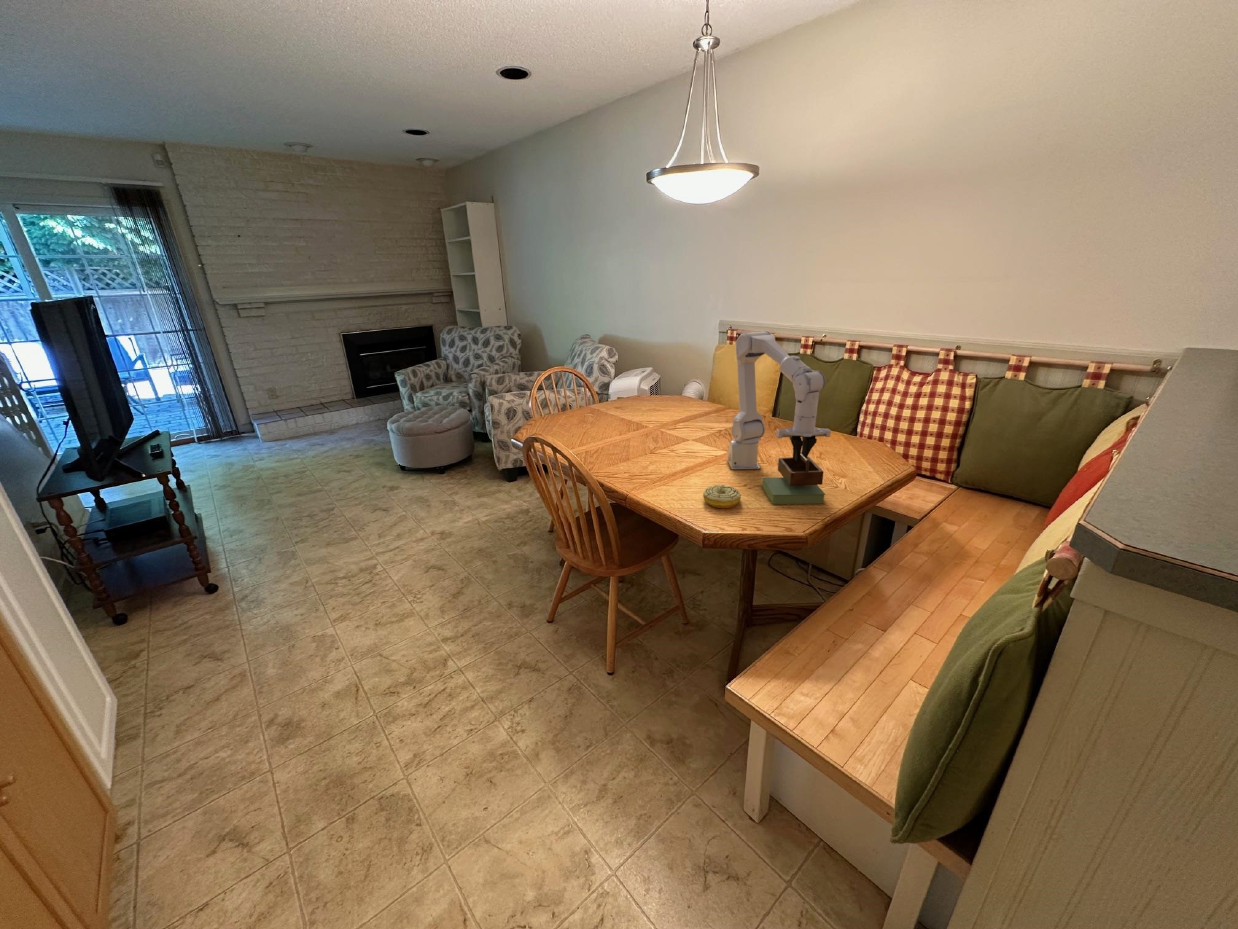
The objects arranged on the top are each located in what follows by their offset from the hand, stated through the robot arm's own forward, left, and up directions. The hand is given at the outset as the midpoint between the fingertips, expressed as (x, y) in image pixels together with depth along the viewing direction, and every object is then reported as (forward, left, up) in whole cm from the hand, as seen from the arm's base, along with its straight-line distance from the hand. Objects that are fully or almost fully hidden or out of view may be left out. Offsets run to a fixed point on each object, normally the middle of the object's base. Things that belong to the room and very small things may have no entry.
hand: (800, 460), depth 139 cm
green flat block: (-2, -2, -10) cm, 10 cm away
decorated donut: (-23, -6, -10) cm, 26 cm away
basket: (0, 0, -5) cm, 5 cm away
